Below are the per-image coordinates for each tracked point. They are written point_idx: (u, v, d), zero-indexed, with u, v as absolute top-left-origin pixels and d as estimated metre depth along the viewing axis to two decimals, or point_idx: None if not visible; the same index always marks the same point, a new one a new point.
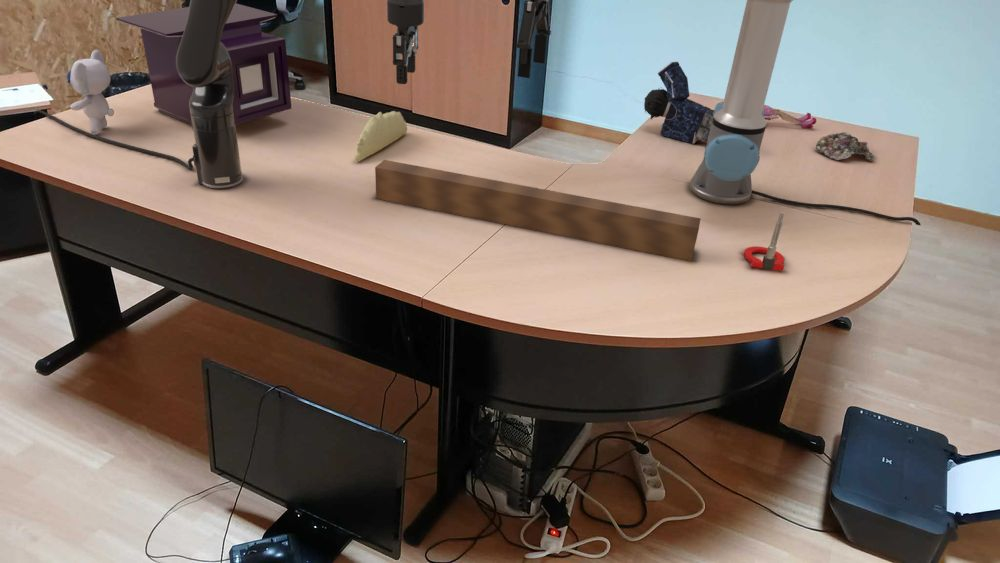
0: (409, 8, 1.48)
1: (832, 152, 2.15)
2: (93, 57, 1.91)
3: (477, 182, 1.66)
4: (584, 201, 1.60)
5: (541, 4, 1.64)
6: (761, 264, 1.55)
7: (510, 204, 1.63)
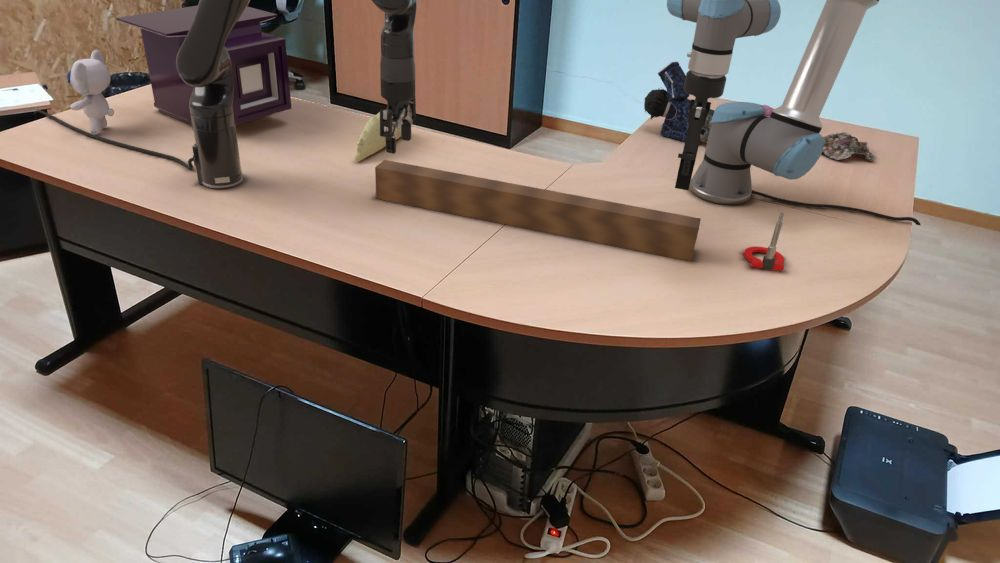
0: (397, 85, 1.56)
1: (832, 152, 2.15)
2: (93, 57, 1.91)
3: (477, 182, 1.66)
4: (584, 201, 1.60)
5: (707, 107, 1.41)
6: (761, 264, 1.55)
7: (510, 204, 1.63)
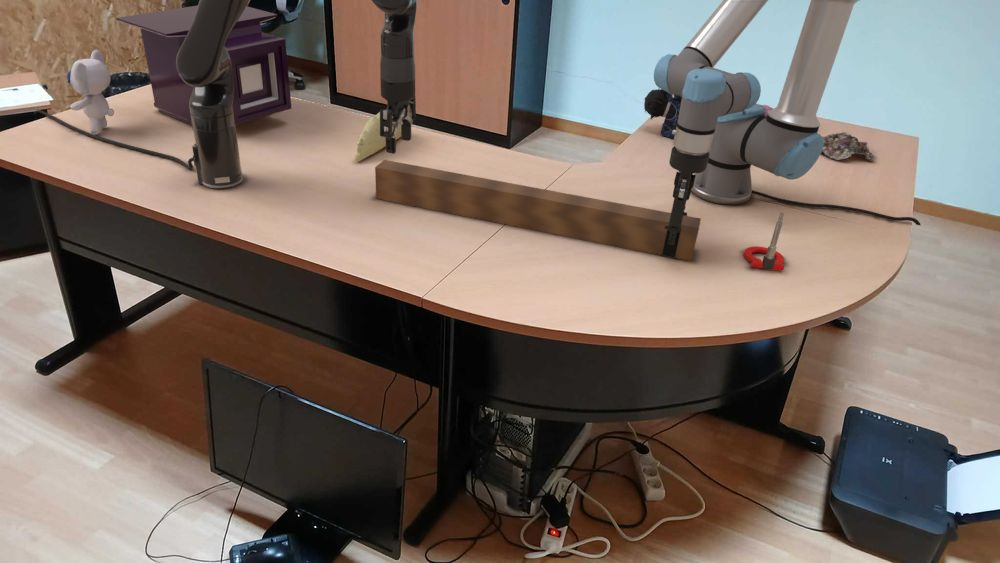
0: (397, 85, 1.56)
1: (832, 152, 2.15)
2: (93, 57, 1.91)
3: (477, 182, 1.66)
4: (584, 201, 1.60)
5: (691, 182, 1.49)
6: (761, 264, 1.55)
7: (510, 204, 1.63)
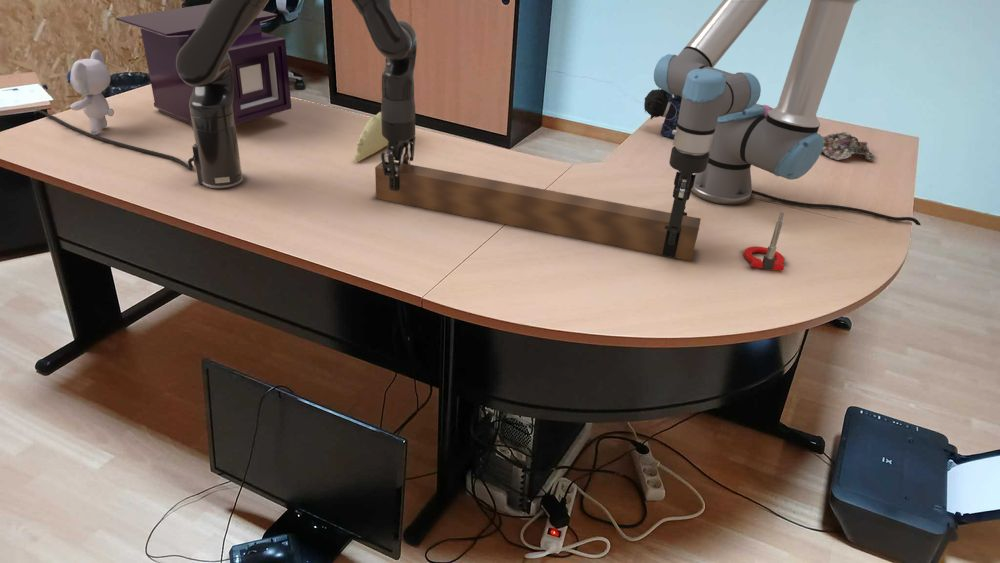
0: (398, 126, 1.61)
1: (832, 152, 2.15)
2: (93, 57, 1.91)
3: (477, 182, 1.66)
4: (584, 201, 1.60)
5: (691, 182, 1.49)
6: (761, 264, 1.55)
7: (510, 204, 1.63)
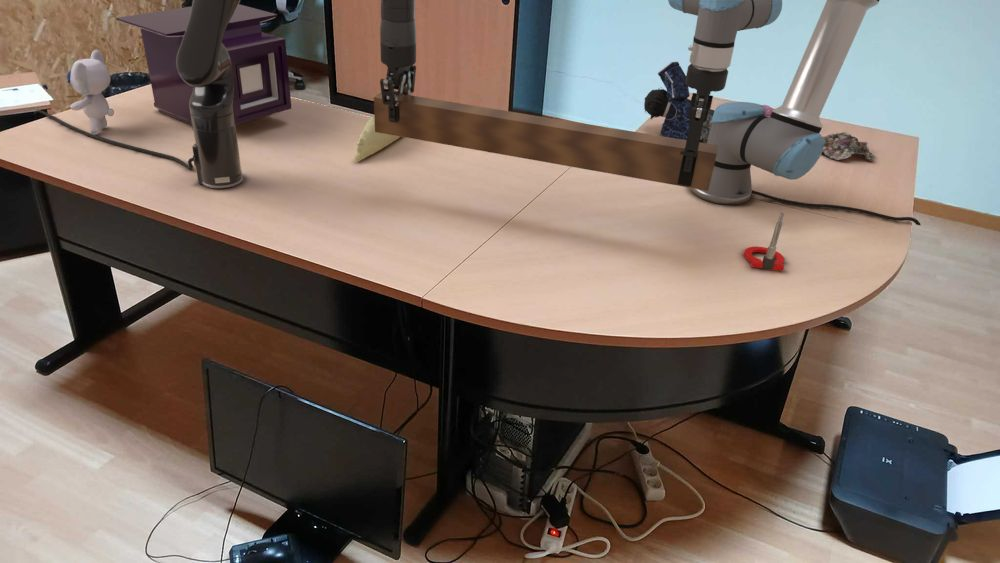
0: (398, 49, 1.52)
1: (832, 152, 2.15)
2: (93, 57, 1.91)
3: (481, 111, 1.57)
4: (594, 129, 1.52)
5: (709, 102, 1.40)
6: (761, 264, 1.55)
7: (516, 133, 1.55)
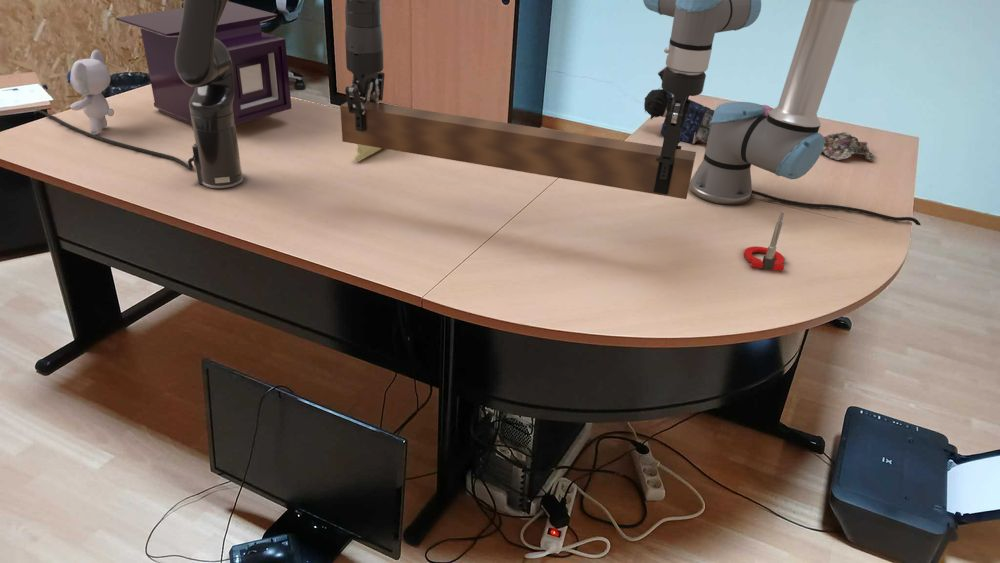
0: (363, 56, 1.47)
1: (832, 152, 2.15)
2: (93, 57, 1.91)
3: (451, 119, 1.51)
4: (567, 136, 1.46)
5: (686, 107, 1.34)
6: (761, 264, 1.55)
7: (487, 141, 1.49)
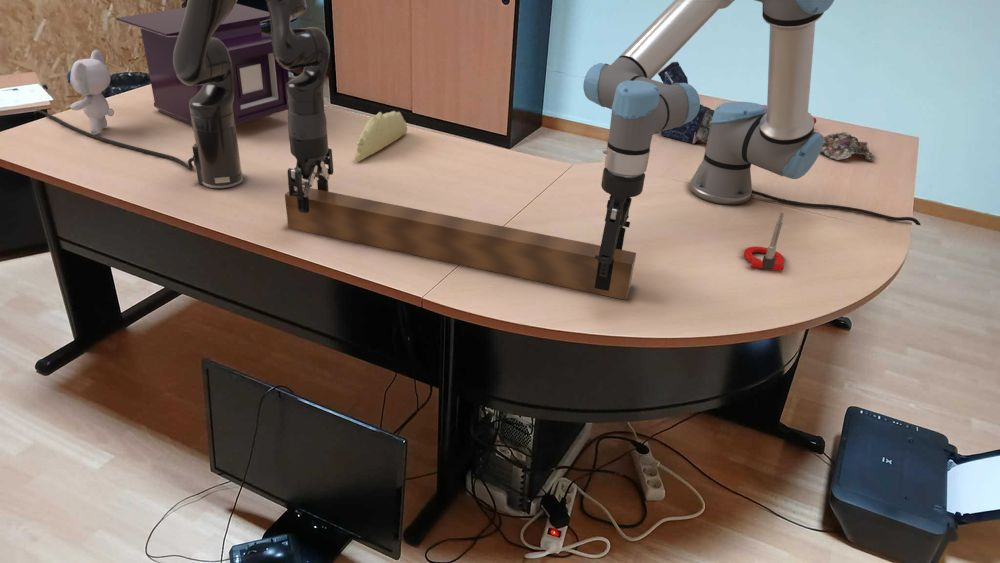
0: (306, 142, 1.45)
1: (832, 152, 2.15)
2: (93, 57, 1.91)
3: (394, 211, 1.51)
4: (509, 233, 1.45)
5: (626, 205, 1.33)
6: (761, 264, 1.55)
7: (430, 235, 1.49)
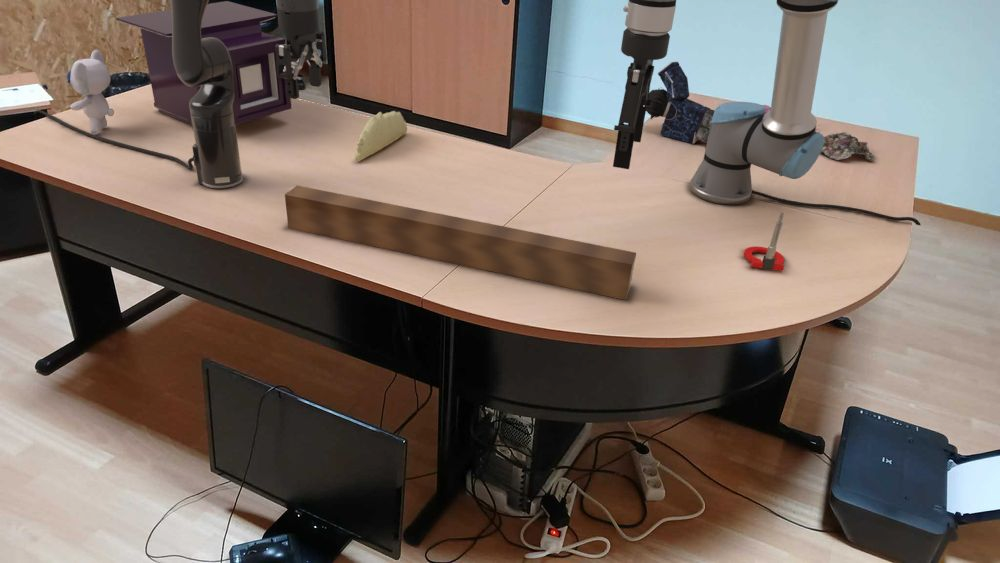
0: (295, 15, 1.32)
1: (832, 152, 2.15)
2: (93, 57, 1.91)
3: (394, 211, 1.51)
4: (509, 233, 1.45)
5: (648, 71, 1.20)
6: (761, 264, 1.55)
7: (430, 235, 1.49)
